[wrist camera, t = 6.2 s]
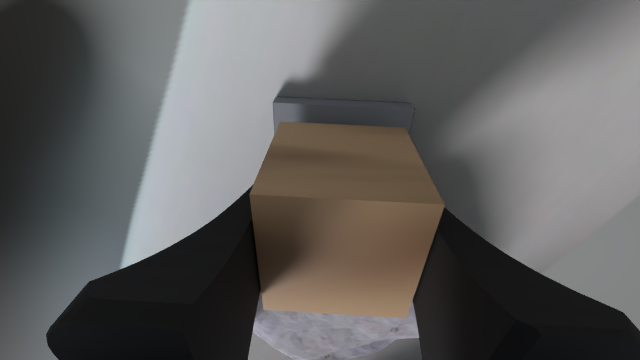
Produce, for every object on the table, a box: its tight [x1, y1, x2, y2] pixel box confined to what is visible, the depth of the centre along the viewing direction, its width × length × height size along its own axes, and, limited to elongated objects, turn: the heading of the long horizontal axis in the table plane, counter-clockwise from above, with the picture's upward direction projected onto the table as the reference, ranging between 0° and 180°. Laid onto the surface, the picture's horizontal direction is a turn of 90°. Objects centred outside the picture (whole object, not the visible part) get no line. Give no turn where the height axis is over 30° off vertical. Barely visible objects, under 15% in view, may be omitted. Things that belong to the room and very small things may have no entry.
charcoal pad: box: [273, 97, 415, 134], centre depth 14 cm, size 6×6×1 cm
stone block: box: [253, 292, 419, 360], centre depth 18 cm, size 12×5×10 cm
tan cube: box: [249, 122, 445, 318], centre depth 11 cm, size 5×5×5 cm
